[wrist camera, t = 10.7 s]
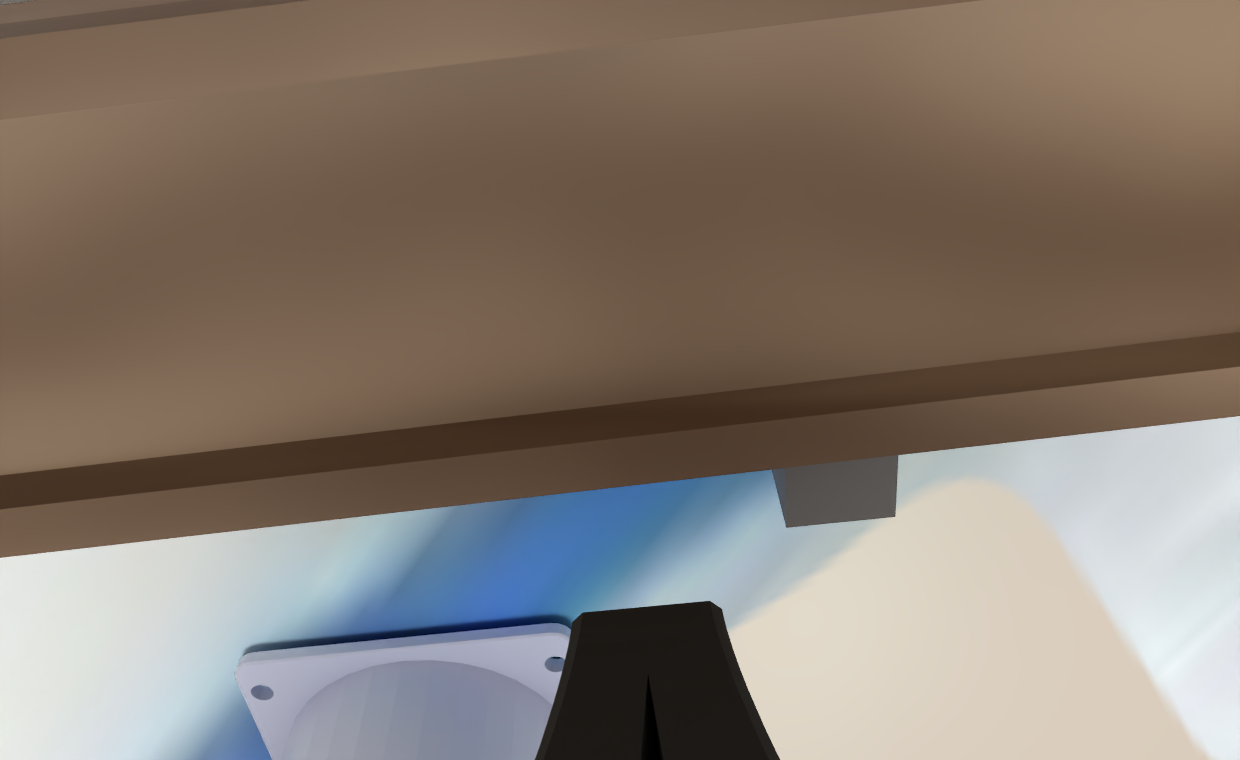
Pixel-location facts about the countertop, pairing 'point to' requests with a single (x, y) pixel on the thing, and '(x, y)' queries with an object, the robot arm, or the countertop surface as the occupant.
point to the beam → (589, 245)
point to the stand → (838, 491)
